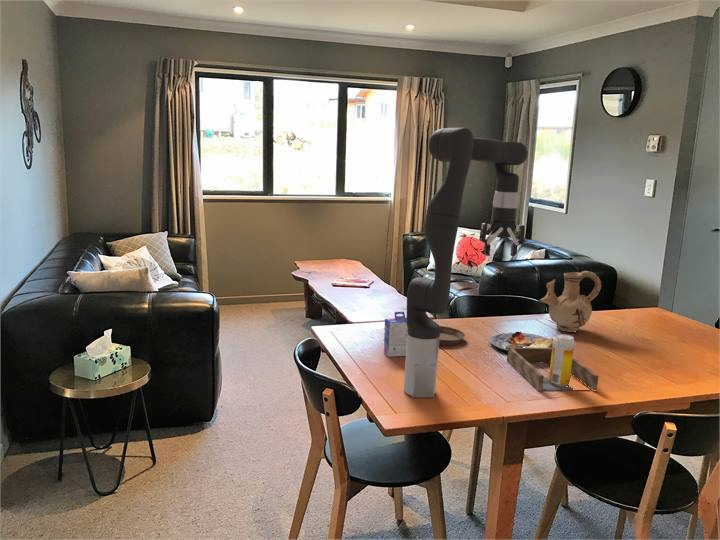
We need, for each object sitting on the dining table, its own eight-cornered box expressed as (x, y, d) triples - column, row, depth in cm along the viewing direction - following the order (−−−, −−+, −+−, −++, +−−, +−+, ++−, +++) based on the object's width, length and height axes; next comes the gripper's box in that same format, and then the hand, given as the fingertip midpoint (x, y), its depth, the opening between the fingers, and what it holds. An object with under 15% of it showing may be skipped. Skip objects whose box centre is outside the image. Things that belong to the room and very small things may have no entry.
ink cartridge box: (408, 350, 203) (411, 310, 201) (415, 355, 198) (418, 314, 195) (382, 352, 200) (384, 311, 197) (388, 357, 195) (390, 315, 192)
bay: (596, 391, 175) (598, 375, 174) (538, 391, 172) (540, 375, 171) (558, 361, 199) (560, 347, 198) (506, 361, 197) (508, 347, 196)
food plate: (514, 333, 229) (514, 324, 228) (570, 349, 213) (571, 340, 212) (478, 347, 212) (478, 338, 211) (536, 366, 196) (537, 356, 195)
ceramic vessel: (560, 321, 250) (567, 264, 245) (602, 332, 236) (610, 272, 231) (535, 327, 239) (542, 268, 234) (578, 340, 224) (586, 277, 219)
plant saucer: (450, 331, 228) (451, 324, 228) (473, 346, 212) (474, 338, 211) (409, 334, 223) (409, 326, 222) (429, 349, 206) (429, 341, 206)
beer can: (571, 382, 180) (577, 336, 177) (566, 389, 175) (572, 341, 172) (551, 377, 183) (557, 332, 180) (545, 383, 178) (551, 336, 175)
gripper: (487, 206, 182) (482, 257, 185) (530, 207, 183) (525, 258, 187) (479, 204, 189) (475, 253, 192) (521, 205, 191) (516, 254, 194)
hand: (500, 255), depth 189 cm, fingers open, 8 cm apart
